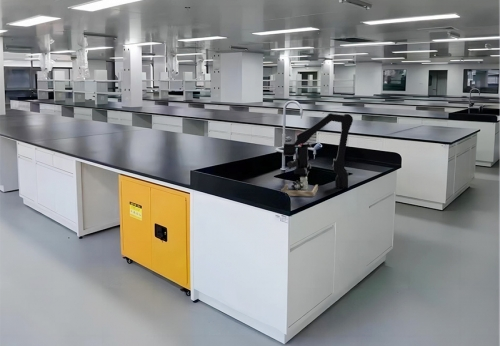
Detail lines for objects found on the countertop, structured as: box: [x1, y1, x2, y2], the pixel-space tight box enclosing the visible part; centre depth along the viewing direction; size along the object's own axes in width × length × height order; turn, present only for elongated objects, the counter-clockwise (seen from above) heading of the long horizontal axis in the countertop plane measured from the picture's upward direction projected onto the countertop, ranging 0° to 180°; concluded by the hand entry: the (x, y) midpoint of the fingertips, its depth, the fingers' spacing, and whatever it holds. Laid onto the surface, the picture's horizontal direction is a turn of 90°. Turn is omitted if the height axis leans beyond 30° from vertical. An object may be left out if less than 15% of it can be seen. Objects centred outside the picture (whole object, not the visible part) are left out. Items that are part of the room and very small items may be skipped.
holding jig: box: [279, 183, 319, 197], centre depth 225 cm, size 17×16×2 cm
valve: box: [291, 176, 309, 191], centre depth 228 cm, size 7×7×12 cm
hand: (303, 183), depth 236 cm, fingers closed
